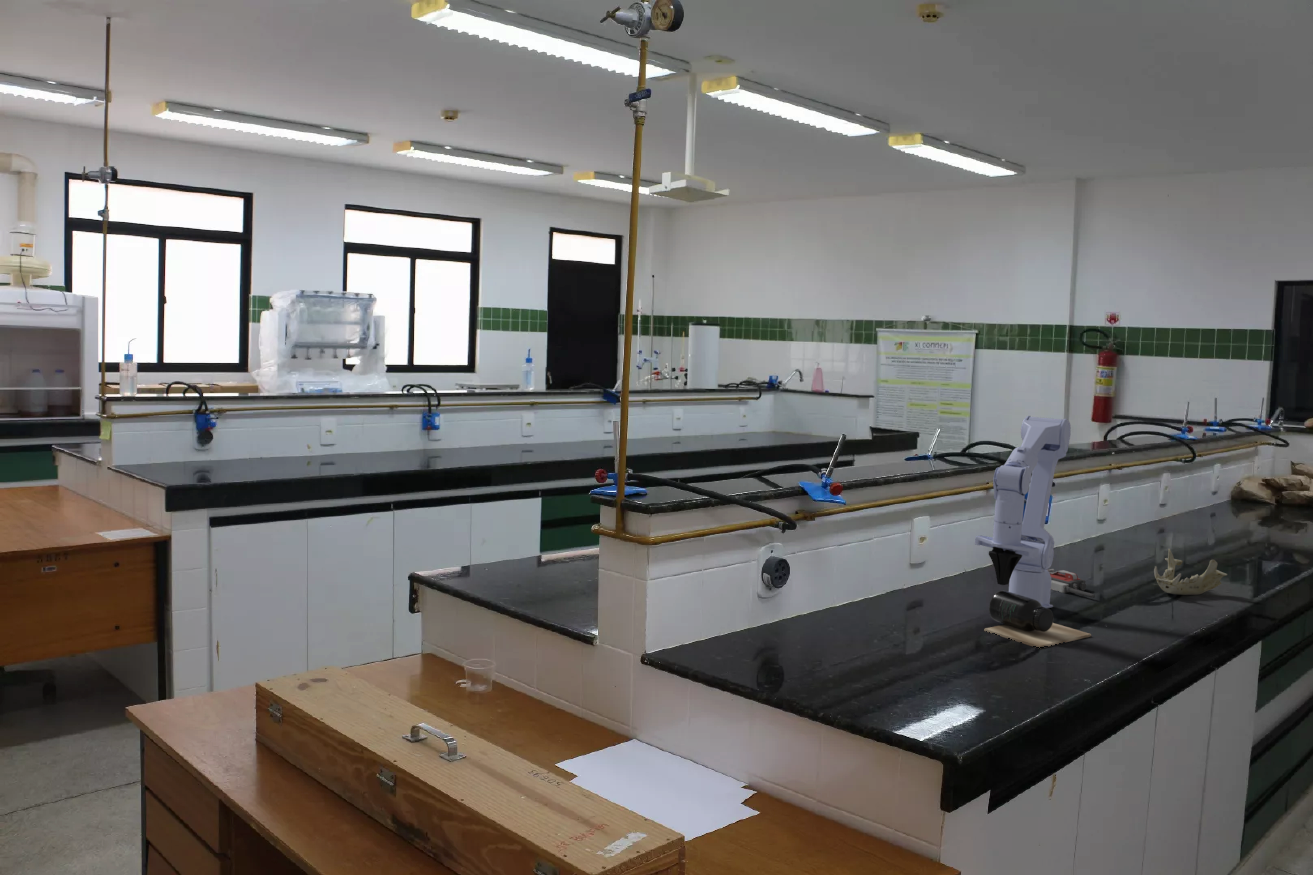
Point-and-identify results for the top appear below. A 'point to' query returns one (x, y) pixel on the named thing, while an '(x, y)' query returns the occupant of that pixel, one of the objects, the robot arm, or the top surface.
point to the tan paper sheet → (1039, 635)
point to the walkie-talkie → (1068, 583)
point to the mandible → (1191, 585)
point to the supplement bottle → (1020, 612)
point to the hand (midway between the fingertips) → (1002, 584)
